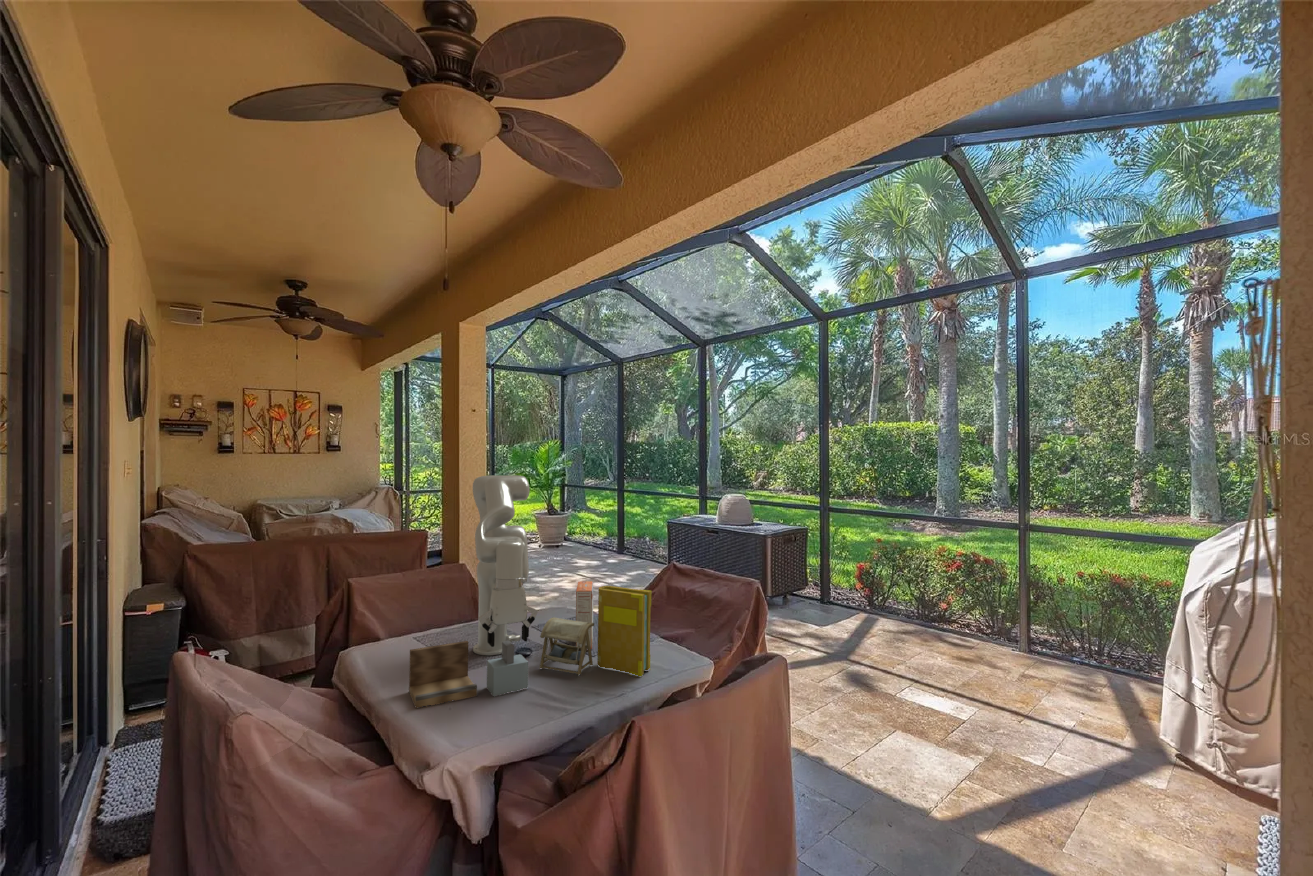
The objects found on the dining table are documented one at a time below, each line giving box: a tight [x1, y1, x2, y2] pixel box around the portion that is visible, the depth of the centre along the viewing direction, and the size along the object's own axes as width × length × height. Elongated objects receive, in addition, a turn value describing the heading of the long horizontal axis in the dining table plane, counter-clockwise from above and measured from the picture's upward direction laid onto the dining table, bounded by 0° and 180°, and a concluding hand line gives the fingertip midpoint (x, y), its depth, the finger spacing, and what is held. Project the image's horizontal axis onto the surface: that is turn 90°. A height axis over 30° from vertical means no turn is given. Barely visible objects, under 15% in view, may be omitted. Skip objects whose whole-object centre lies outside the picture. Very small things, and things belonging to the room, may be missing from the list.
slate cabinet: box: [486, 641, 529, 697], centre depth 170 cm, size 10×7×13 cm
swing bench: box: [539, 617, 595, 675], centre depth 186 cm, size 15×10×15 cm, turn 70°
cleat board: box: [408, 640, 478, 709], centre depth 165 cm, size 16×12×12 cm
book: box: [596, 585, 652, 677], centre depth 186 cm, size 17×7×25 cm, turn 65°
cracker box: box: [575, 580, 594, 650], centre depth 209 cm, size 14×6×21 cm, turn 5°
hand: (508, 642), depth 170 cm, fingers open, 9 cm apart
